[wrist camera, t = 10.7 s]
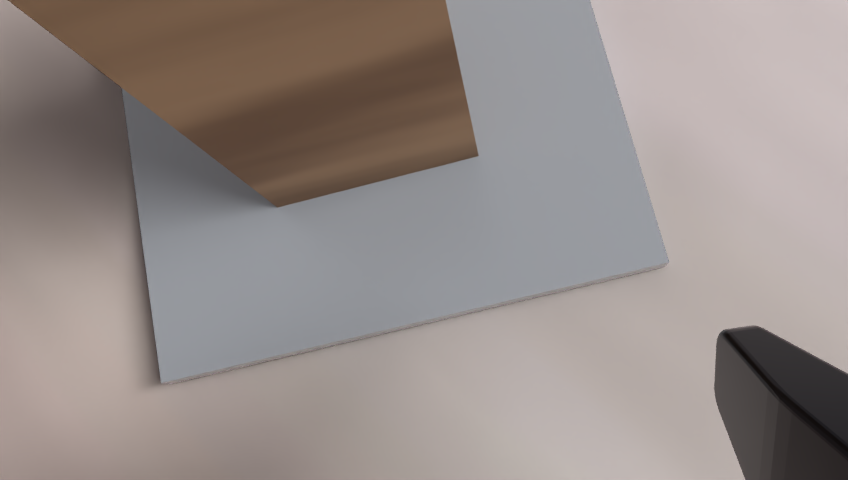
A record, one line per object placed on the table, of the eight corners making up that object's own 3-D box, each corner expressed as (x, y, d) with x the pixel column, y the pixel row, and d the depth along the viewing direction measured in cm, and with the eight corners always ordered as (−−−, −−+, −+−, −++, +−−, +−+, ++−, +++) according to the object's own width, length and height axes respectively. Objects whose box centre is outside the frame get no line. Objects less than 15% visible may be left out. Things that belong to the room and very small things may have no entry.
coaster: (664, 266, 17) (669, 262, 17) (173, 383, 18) (161, 382, 18) (534, -165, 20) (534, -182, 20) (114, -43, 21) (102, -55, 21)
